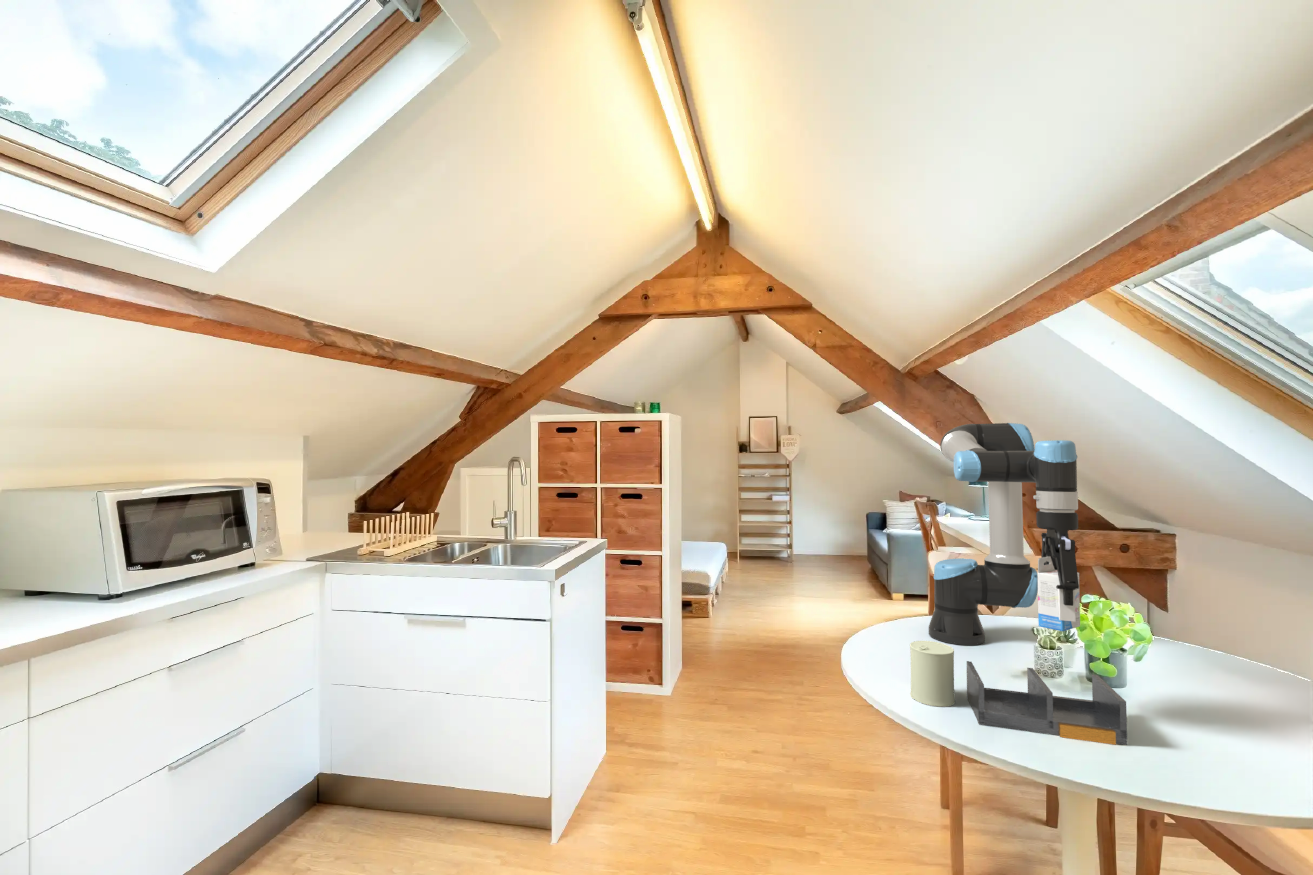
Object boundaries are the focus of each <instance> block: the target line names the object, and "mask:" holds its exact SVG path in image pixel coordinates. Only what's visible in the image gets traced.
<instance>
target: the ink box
mask: <svg viewBox="0 0 1313 875" xmlns="http://www.w3.org/2000/svg"><path fill="white" fill-rule="evenodd" d="M1046 561H1047V562H1049V565H1044V563H1045V562H1046ZM1037 574H1038V592H1037V610H1038V611H1037V614H1038V615H1037V616H1038V617H1037V618H1038V627H1041V628H1045V629H1049V630H1053V631H1059V632H1066V631H1069V630H1072V629H1073V630H1074V629H1075V628H1079V627H1081V611H1080V610H1081V605H1080V604H1081V603H1080V600H1081V596H1080V587H1079V588H1076V589H1075V621H1064V620H1059V598H1058V589H1057V588H1056V586H1057V585H1060V583H1059V577H1058V572H1057V570H1055V569H1054V566H1053V563H1052V559H1051V557H1050V556H1049V557H1043V558H1041V557H1039V558H1038V559H1037ZM1077 575H1078V584H1079V585H1080V572H1077ZM1067 582H1068V581H1067Z"/></svg>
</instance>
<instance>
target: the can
mask: <svg viewBox="0 0 1313 875" xmlns="http://www.w3.org/2000/svg"><path fill="white" fill-rule="evenodd" d="M909 646H910V647H909V648H910V650H909V651H910V693H909V694H910V697H911V698H912V699H913V700H914V699H915V700H914V701H915V702H918V703H920V702H921V703H920V704H923V705H926V706H930V707H931V706H932V707H937V708H938V707H939V708H945V707H951V706H953V705H955V703H956V698H955V669H954V668H955V665H954V664H955V649H954V648H953V647H952V646H950V645H948V644H946V643H942V642H937V641H930V640H916V641H912V642H911V643H910V644H909Z"/></svg>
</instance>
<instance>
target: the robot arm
mask: <svg viewBox="0 0 1313 875" xmlns="http://www.w3.org/2000/svg"><path fill="white" fill-rule="evenodd" d="M939 449H940V451H941V453H942V454H943V456H944V457H945V458H946V459H947V460H949V461H950V462H953V474H954V478H955V479H956V480H957V481H960V482H969V483H975V482H976V483H978V482H981V483H983V482H987V483H988V517H989V519H988V521H989V523H988V524H989V525H988V526H989V527H988V528H989V531H988V532H989V554H988V555H987V556H985V557H984V561H983V562H984V564H978V561H977V560H976V559H973V558H949V559H942V560H939V561H937V562H936V563H935V565H934V569H933V570H934V571H933V573H934V574H933V580H934V581H933V582H934V583H933V584H934V593H933V594H934V597H933V598H934V610H933V613H932V616H931V618H930V621H929V624H928V635H929V636H930V638H932V639H934V640H937V641H940V642H943V643H948V644H953V645H960V646H979V645H983V644H985V642H986V633H985V631H984V628H983V624H982V622H981V619H980V617H979V614H978V612H979V611H978V609H979V608H978V607H979V605H980V606H981V605H982V606H994V607H995V606H996V607H997V606H999V607H1007V608H1013V609H1016V608H1030V607H1032V606H1033V605H1034V603H1035V602H1036V600H1037V598H1038V570H1037V569H1036V568H1033V567H1032V566H1031V561H1029V560H1028V558H1026V556H1025V555H1024V554H1025V552H1024V549H1025V548H1024V515H1023V513H1024V512H1023V484H1022V483H1035V495H1033V500H1035V501H1036V502H1035V503H1036V508H1037V509H1038V510H1037V512H1035V514H1036V515H1035V516H1036V526H1037V528H1039V529H1042V530H1046V532H1041V534H1040V535H1041V557H1040V558H1043V557H1049V556H1050V557H1051V559H1052V563H1053V566H1054V569H1055V570H1057V572H1058V577H1059V583H1060V585H1057V586H1056V588H1057V589H1058V598H1059V620H1064V621H1075V589H1076V588H1079V589H1080V583H1079V584H1078V575H1077V573H1078V567H1077V566H1078V565H1077V560H1076V559H1077V558H1076V541H1075V539H1071V538H1070V536H1069V531H1076V530H1078V529H1079V514H1078V513H1077V512H1076V511H1078V509H1079V496H1078V495H1079V494H1078V477H1077V476H1078V474H1077V473H1078V472H1077V470H1078V469H1077V466H1078V464H1077V459H1078V455H1077V449H1076V443H1075V441H1072V440H1066V439H1065V440H1064V439H1063V440H1037V442H1036V443H1034V438H1033V435H1032V433H1031V430H1030V429H1029V428H1028V426H1026V425H1025V424H1023V423H1013V422H1005V423H1003V422H1002V423H1001V422H999V423H966V424H961V425H958V426H956V427H953V428H952V429H949V430H948V431H947V432H945V434H944V435H943V437H941V440H940V448H939ZM1044 565H1049V562H1047V561H1046V562H1045V563H1044ZM1067 581H1068V582H1067Z"/></svg>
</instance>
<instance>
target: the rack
mask: <svg viewBox="0 0 1313 875" xmlns="http://www.w3.org/2000/svg"><path fill="white" fill-rule="evenodd" d="M1026 668H1027V673H1026V674H1027V679H1026V680H1027V692H1026V691H1025V692H1024V691H1017V690H1016V691H1015V690H1008V689H1001V688H1000V689H999V688H992V687H985V684H984V682H983V680H982V678H981V677H980V674H979V673H978V671H977V670H976V669H977V668H976V667H975V665H974V663H973V662H972V661H969V660H966V698H967V700H968V702H969V706H971V710H972V712H973V714H974V717H975V719H976V720H977V723H978V725H980V726H986V727H993V728H1000V729H1007V730H1016V731H1022V732H1023V731H1024V732H1030V733H1035V734H1037V733H1038V734H1043V735H1044V734H1045V735H1051V736H1059V737H1060V738H1065V739H1071V740H1078V741H1083V742H1084V741H1085V742H1093V743H1098V744H1099V743H1100V744H1106V745H1112V746H1113V745H1115V746H1116V745H1123V746H1128V725H1127V723H1128V721H1127V700H1125V699H1124V698H1123V697H1122V696H1121V695H1120V694H1119V693H1118V692H1117V691H1116V690H1114V689H1113V688H1112V687H1111V686H1110V685H1109V684H1108V683H1107V682H1106V681H1105V680H1103V679H1102V677H1100V676H1099V674H1091V690H1092V691H1091V692H1092V695H1091V696H1092V698H1091V699H1092V700H1090V699H1082V698H1075V697H1074V698H1073V697H1067V696H1061V695H1060V696H1059V695H1058V696H1056V695H1053V692H1052V690H1051V689H1050V688H1049V686H1048V685H1047V684H1046V683H1045V681H1044V680H1043V679H1042V678H1041V677H1040V676H1039V674H1038V673H1037V672H1036V670H1034V668H1033V667H1026Z"/></svg>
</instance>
